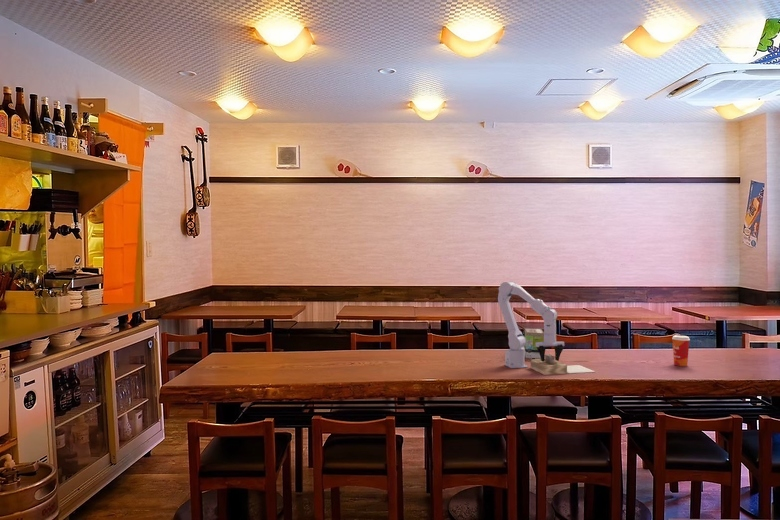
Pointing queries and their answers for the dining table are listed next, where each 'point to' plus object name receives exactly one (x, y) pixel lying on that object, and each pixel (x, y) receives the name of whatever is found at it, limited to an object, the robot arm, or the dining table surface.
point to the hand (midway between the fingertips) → (549, 360)
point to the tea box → (533, 342)
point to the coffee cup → (680, 350)
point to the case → (548, 368)
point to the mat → (578, 369)
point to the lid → (550, 360)
